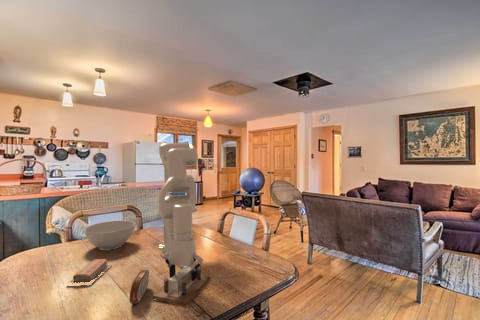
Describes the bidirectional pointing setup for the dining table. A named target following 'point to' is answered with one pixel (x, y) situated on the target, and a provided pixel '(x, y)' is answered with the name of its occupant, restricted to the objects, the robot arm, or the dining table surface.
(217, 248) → the dining table surface
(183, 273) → the steel bar
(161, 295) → the peg stand
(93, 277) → the packaged product
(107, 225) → the decorative bowl
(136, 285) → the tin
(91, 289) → the dining table surface
